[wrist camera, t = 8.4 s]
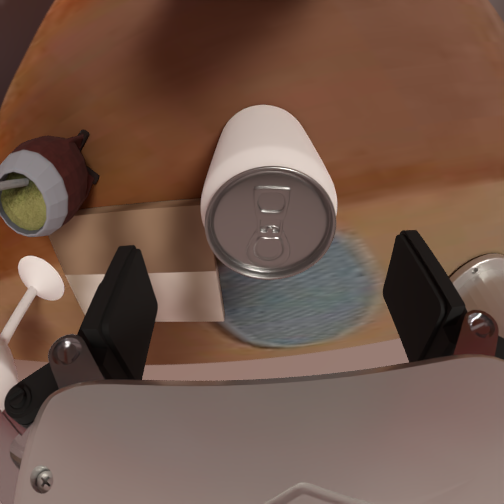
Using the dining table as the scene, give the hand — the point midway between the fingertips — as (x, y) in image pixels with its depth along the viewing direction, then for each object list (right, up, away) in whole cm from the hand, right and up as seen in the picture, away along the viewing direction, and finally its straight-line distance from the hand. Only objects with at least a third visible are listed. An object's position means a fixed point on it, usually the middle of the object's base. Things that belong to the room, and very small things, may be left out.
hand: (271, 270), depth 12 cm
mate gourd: (-16, +9, +12) cm, 22 cm away
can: (0, +9, +12) cm, 15 cm away
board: (-12, -1, +19) cm, 22 cm away
